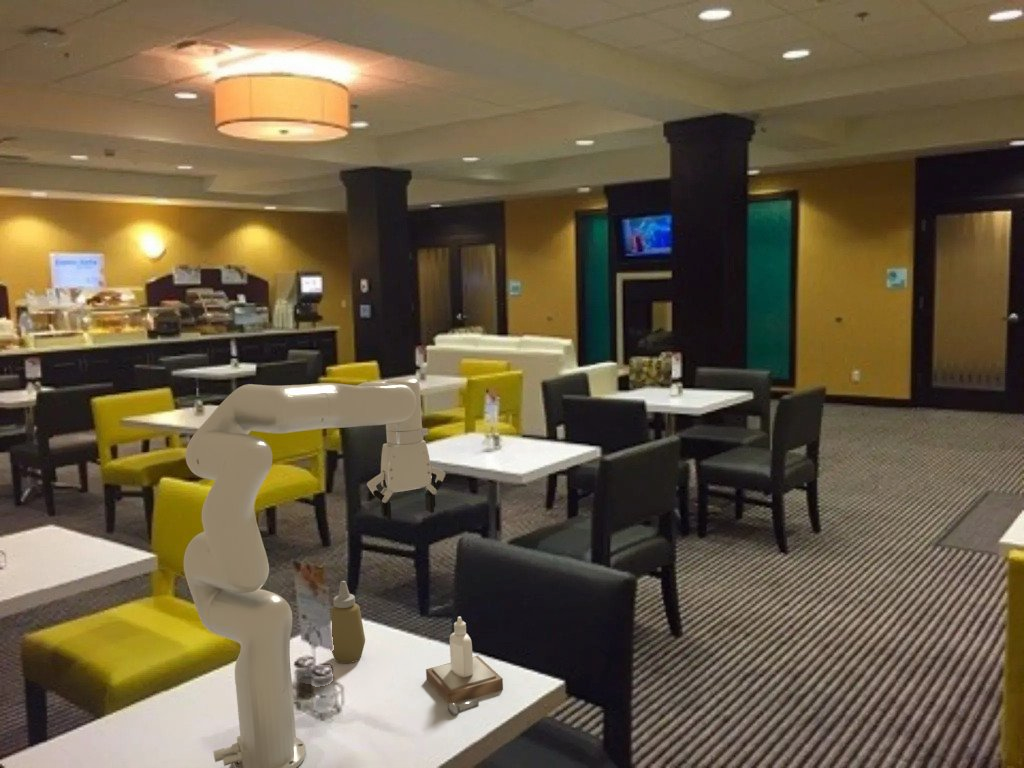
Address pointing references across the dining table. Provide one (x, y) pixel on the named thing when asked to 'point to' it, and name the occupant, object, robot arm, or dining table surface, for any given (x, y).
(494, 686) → the picture frame
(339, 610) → the squeeze bottle
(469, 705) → the loose bolt
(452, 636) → the eye dropper bottle
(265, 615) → the robot arm
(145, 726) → the dining table surface
